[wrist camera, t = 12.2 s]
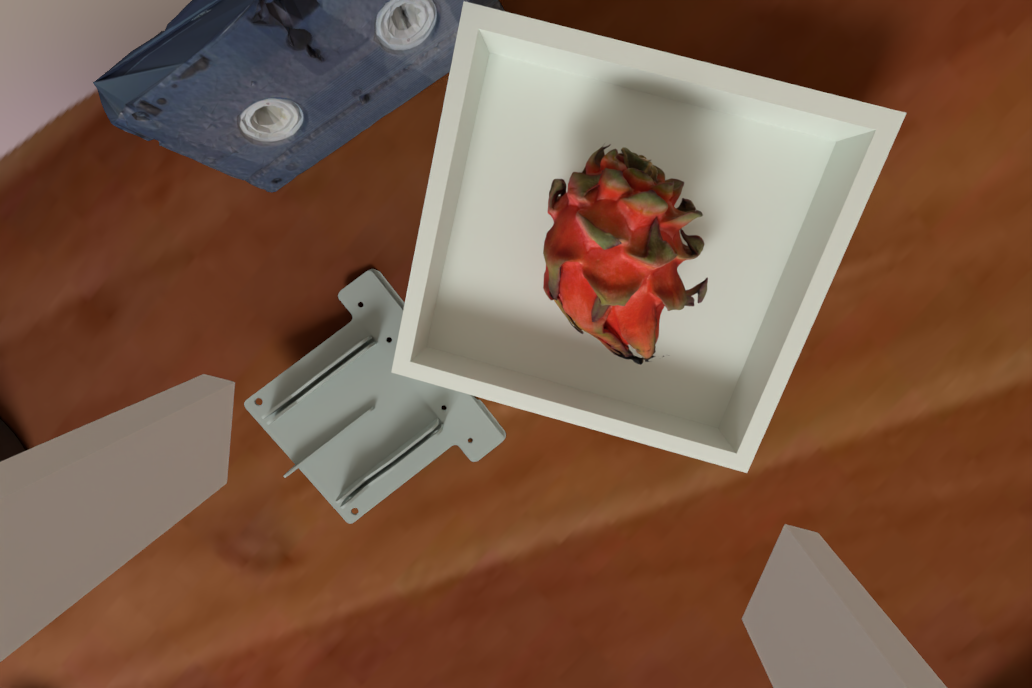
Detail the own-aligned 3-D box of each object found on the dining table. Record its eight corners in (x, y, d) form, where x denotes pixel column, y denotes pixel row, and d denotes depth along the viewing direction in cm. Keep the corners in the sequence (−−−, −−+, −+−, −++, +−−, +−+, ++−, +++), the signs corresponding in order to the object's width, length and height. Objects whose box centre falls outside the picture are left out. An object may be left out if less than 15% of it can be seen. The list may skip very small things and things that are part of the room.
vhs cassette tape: (494, -7, 28) (420, -196, 18) (515, 36, 27) (452, -133, 18) (254, 156, 31) (86, 73, 22) (270, 195, 31) (108, 129, 21)
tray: (414, 352, 33) (391, 372, 29) (479, 35, 28) (463, 1, 23) (722, 439, 32) (746, 473, 28) (851, 130, 27) (906, 112, 23)
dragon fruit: (607, 140, 29) (629, 322, 33) (488, 167, 25) (530, 367, 30) (732, 114, 22) (739, 350, 26) (591, 147, 18) (627, 414, 23)
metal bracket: (352, 567, 31) (195, 393, 29) (368, 527, 37) (238, 378, 35) (523, 433, 32) (382, 254, 30) (513, 414, 38) (394, 262, 36)
